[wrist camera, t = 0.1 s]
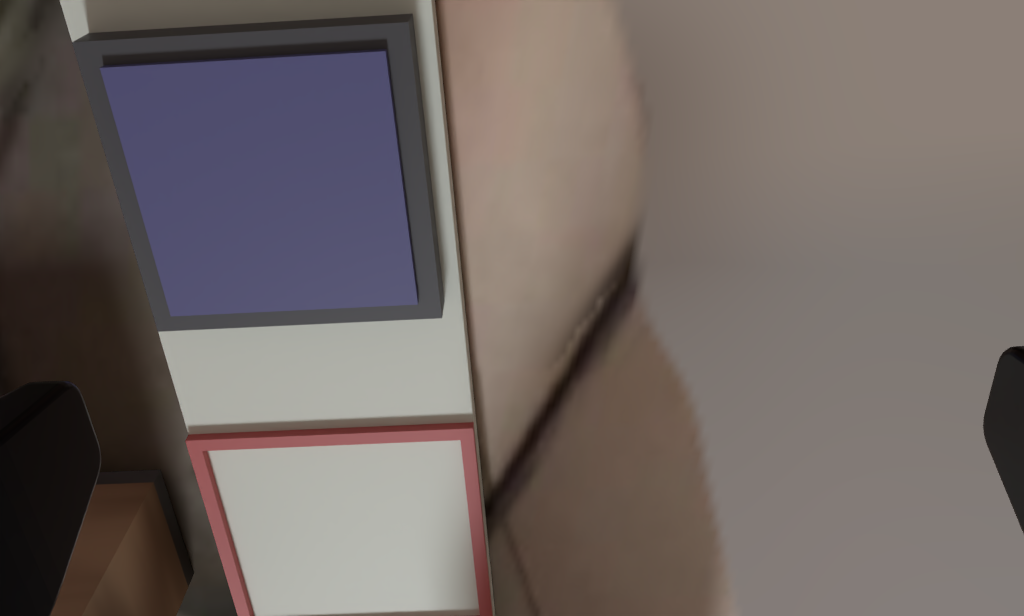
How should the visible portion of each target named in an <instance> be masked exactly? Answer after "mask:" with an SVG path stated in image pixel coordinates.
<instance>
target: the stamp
mask: <svg viewBox="0 0 1024 616" xmlns="http://www.w3.org/2000/svg"><path fill="white" fill-rule="evenodd" d="M193 574H194V572H193V569H192V566H191V563H190V560H189V557H188V554H187V551H186V547H185V544H184V541H183V538H182V535H181V532H180V529H179V526H178V523H177V520H176V517H175V514H174V510H173V507H172V504H171V501H170V498H169V495H168V492H167V489H166V486H165V483H164V480H163V477H162V473H161V470H141V471H117V472H99V475H98V478H97V481H96V484H95V487H94V490H93V493H92V496H91V499H90V502H89V505H88V508H87V511H86V514H85V517H84V520H83V523H82V526H81V530H80V533H79V536H78V539H77V542H76V545H75V548H74V551H73V554H72V557H71V560H70V563H69V566H68V569H67V572H66V575H65V578H64V581H63V584H62V587H61V589H60V592H59V595H58V597H57V600H56V603H55V605H54V608H53V610H52V612H51V615H50V616H176V615H177V612H178V610H179V608H180V605H181V603H182V600H183V598H184V596H185V593H186V591H187V589H188V586H189V584H190V582H191V579H192V577H193Z"/></svg>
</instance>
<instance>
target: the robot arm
mask: <svg viewBox="0 0 1024 616" xmlns="http://www.w3.org/2000/svg"><path fill="white" fill-rule="evenodd" d="M983 428H984V436H985V439H986V443H987V446H988V448H989V451H990V453H991V455H992V458H993V460H994V463H995V465H996V468H997V470H998V473H999V475H1000V477H1001V480H1002V482H1003V485H1004V487H1005V490H1006V492H1007V494H1008V497H1009V499H1010V502H1011V504H1012V506H1013V509H1014V512H1015V514H1016V516H1017V519H1018V521H1019V524H1020V526H1021V529H1022V531H1023V533H1024V346H1016V347H1010V348H1009V349H1007V350H1006V351H1005V352H1003V354H1002V355H1001V357H1000V359H999V362H998V364H997V368H996V372H995V376H994V380H993V384H992V387H991V391H990V395H989V399H988V403H987V407H986V410H985V415H984V424H983ZM100 466H101V451H100V446H99V442H98V440H97V437H96V434H95V431H94V428H93V425H92V422H91V419H90V416H89V414H88V411H87V408H86V405H85V402H84V399H83V396H82V394H81V392H80V390H79V389H78V387H77V386H76V385H74V384H73V383H71V382H69V381H48V382H32V383H28V384H25V385H23V386H21V387H19V388H17V389H15V390H13V391H11V392H9V393H7V394H6V395H4V396H2V397H0V616H50V615H51V612H52V610H53V608H54V605H55V603H56V600H57V597H58V595H59V592H60V589H61V587H62V584H63V581H64V578H65V575H66V572H67V569H68V566H69V563H70V560H71V557H72V554H73V551H74V548H75V545H76V542H77V539H78V536H79V533H80V530H81V526H82V523H83V520H84V517H85V514H86V511H87V508H88V505H89V502H90V499H91V496H92V493H93V490H94V487H95V484H96V481H97V478H98V475H99V471H100Z"/></svg>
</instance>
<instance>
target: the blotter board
mask: <svg viewBox="0 0 1024 616" xmlns="http://www.w3.org/2000/svg"><path fill="white" fill-rule="evenodd" d="M60 3H61V6H62V10H63V13H64V16H65V20H66V23H67V26H68V30H69V33H70V37H71V40H72V44H73V47H74V51H75V54H76V58H77V61H78V64H79V68H80V71H81V74H82V78H83V81H84V84H85V88H86V91H87V95H88V98H89V101H90V105H91V108H92V111H93V115H94V118H95V122H96V125H97V128H98V132H99V135H100V138H101V142H102V145H103V148H104V152H105V155H106V159H107V162H108V165H109V169H110V172H111V175H112V179H113V182H114V185H115V189H116V192H117V196H118V199H119V202H120V206H121V209H122V212H123V216H124V219H125V223H126V226H127V229H128V233H129V236H130V239H131V243H132V246H133V249H134V253H135V256H136V260H137V263H138V266H139V270H140V273H141V276H142V280H143V283H144V286H145V290H146V293H147V297H148V300H149V303H150V307H151V310H152V313H153V317H154V320H155V324H156V327H157V330H158V333H159V336H160V340H161V343H162V346H163V350H164V353H165V357H166V360H167V363H168V367H169V370H170V373H171V377H172V380H173V383H174V387H175V390H176V394H177V397H178V400H179V404H180V407H181V410H182V414H183V417H184V421H185V424H186V427H187V431H188V434H189V435H188V437H187V439H186V445H187V448H188V451H189V455H190V458H191V461H192V465H193V468H194V471H195V475H196V478H197V481H198V485H199V488H200V491H201V495H202V498H203V501H204V505H205V508H206V511H207V515H208V518H209V521H210V525H211V528H212V531H213V535H214V538H215V541H216V545H217V548H218V551H219V555H220V558H221V561H222V565H223V568H224V571H225V575H226V578H227V581H228V585H229V588H230V591H231V594H232V598H233V601H234V604H235V608H236V611H237V614H238V616H495V607H494V596H493V586H492V576H491V566H490V556H489V546H488V535H487V525H486V515H485V505H484V495H483V485H482V474H481V464H480V454H479V444H478V434H477V424H476V413H475V403H474V393H473V383H472V373H471V363H470V353H469V342H468V332H467V322H466V312H465V302H464V292H463V281H462V271H461V261H460V251H459V241H458V231H457V220H456V210H455V200H454V190H453V180H452V170H451V159H450V149H449V139H448V129H447V119H446V109H445V98H444V88H443V78H442V68H441V58H440V48H439V37H438V27H437V17H436V7H435V0H60Z"/></svg>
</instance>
